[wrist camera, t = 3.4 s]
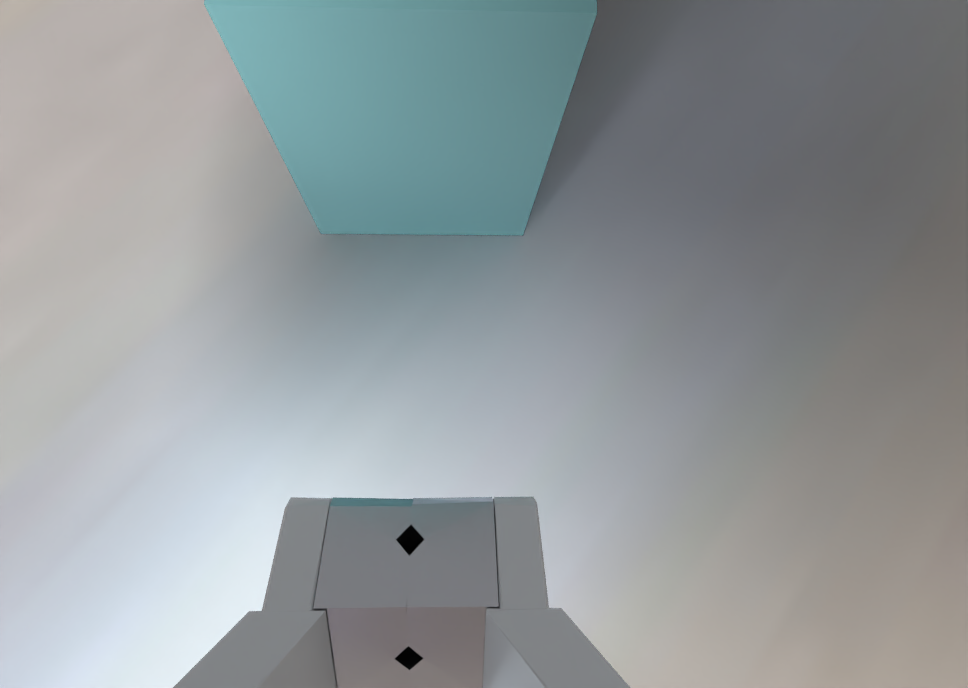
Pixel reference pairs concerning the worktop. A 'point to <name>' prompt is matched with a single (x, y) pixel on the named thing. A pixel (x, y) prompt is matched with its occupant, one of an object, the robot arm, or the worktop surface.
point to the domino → (410, 104)
